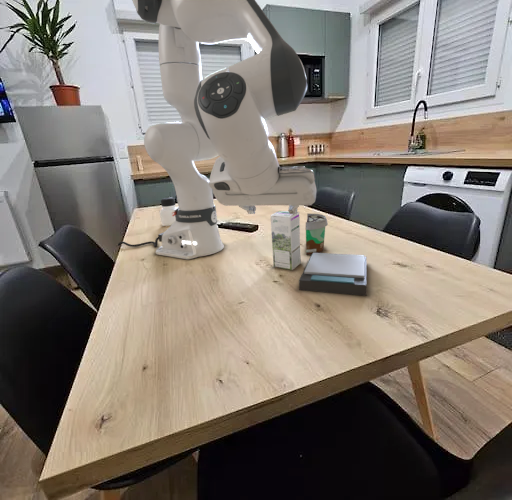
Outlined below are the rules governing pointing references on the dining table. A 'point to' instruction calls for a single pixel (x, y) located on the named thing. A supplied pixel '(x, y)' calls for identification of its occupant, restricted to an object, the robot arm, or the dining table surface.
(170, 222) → the medicine bottle
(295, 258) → the syrup box
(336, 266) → the kitchen scale
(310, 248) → the food container
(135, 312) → the dining table surface
